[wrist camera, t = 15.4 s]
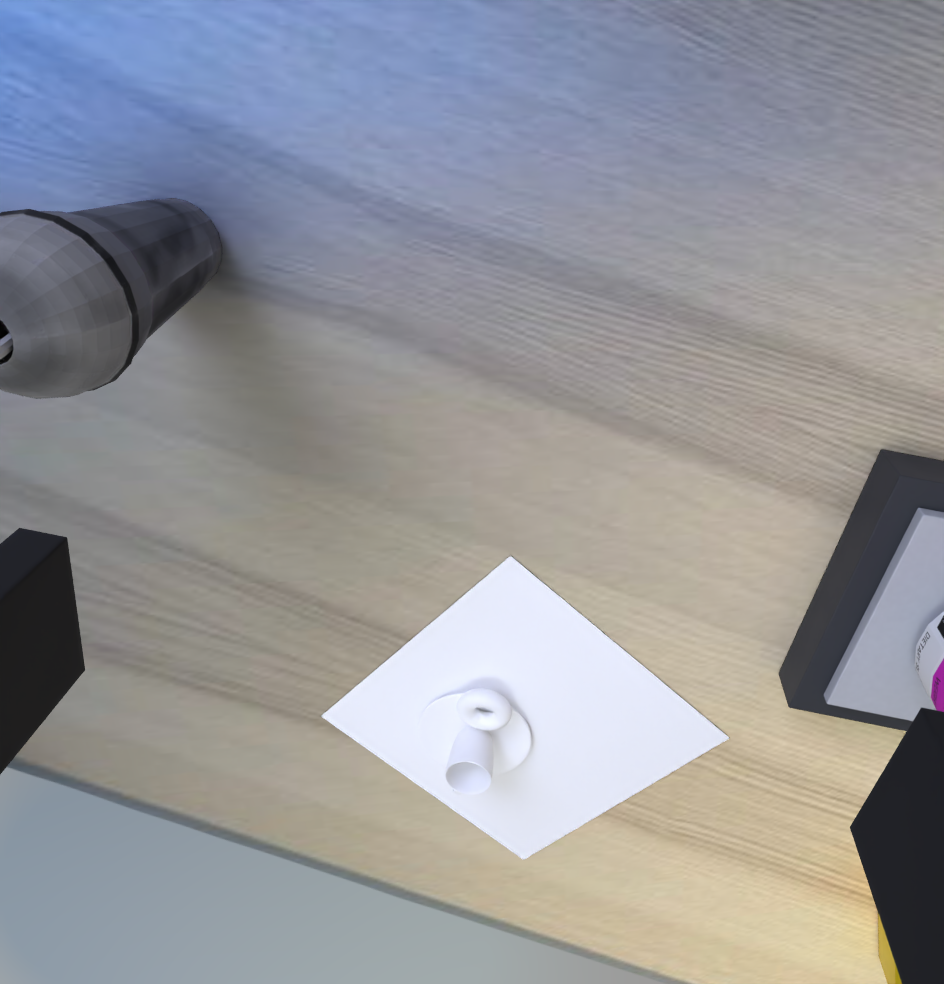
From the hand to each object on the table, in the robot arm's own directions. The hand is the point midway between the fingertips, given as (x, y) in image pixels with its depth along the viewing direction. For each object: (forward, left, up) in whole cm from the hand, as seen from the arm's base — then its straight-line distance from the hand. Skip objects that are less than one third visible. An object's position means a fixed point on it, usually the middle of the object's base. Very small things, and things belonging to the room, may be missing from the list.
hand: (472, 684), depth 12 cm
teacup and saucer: (+32, +4, -31) cm, 45 cm away
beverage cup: (+3, -19, -31) cm, 36 cm away
